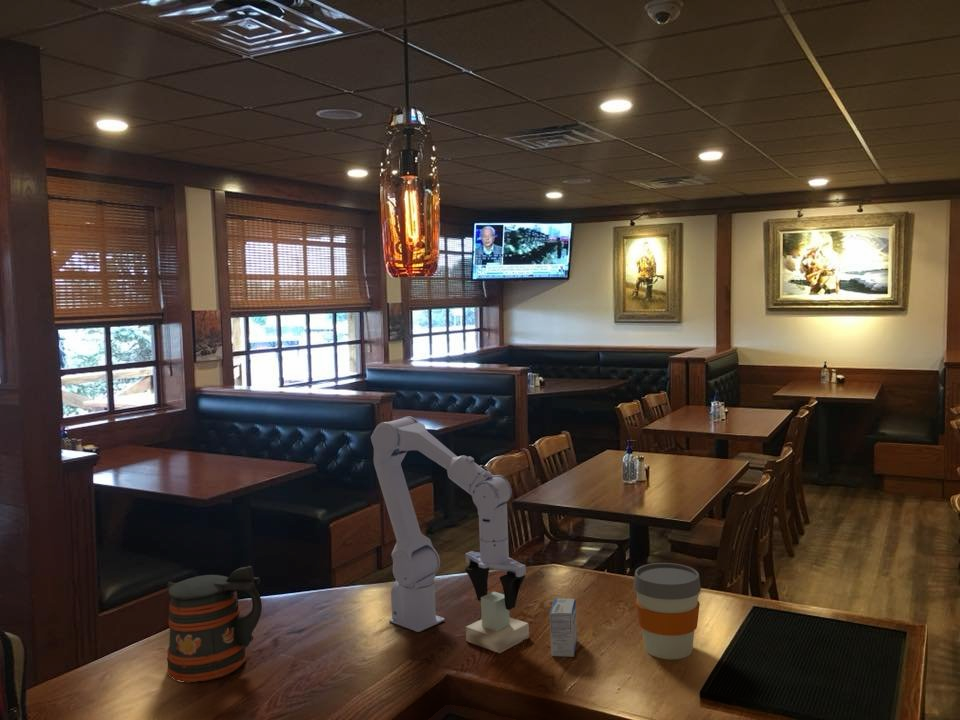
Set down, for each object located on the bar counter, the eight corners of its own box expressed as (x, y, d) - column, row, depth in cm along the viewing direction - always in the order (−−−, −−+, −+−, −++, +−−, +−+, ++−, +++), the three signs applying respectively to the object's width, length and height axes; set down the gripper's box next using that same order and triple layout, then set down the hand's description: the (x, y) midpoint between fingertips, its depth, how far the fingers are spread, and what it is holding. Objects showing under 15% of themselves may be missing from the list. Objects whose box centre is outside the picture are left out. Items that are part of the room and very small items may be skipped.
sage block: (481, 626, 160) (480, 597, 160) (495, 619, 163) (494, 591, 163) (496, 631, 158) (495, 602, 157) (509, 624, 161) (508, 595, 160)
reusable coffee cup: (706, 640, 157) (705, 566, 156) (695, 668, 145) (694, 588, 144) (643, 631, 162) (641, 559, 161) (628, 657, 151) (626, 580, 150)
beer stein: (279, 648, 161) (273, 552, 159) (254, 683, 146) (247, 577, 145) (187, 649, 162) (180, 553, 160) (153, 684, 147) (146, 579, 146)
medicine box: (574, 658, 152) (572, 613, 151) (550, 656, 152) (549, 612, 152) (577, 640, 159) (576, 598, 159) (555, 639, 160) (553, 597, 159)
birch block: (466, 641, 161) (465, 626, 161) (495, 626, 167) (495, 612, 167) (499, 653, 155) (499, 638, 154) (529, 637, 161) (528, 623, 161)
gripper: (454, 536, 161) (456, 601, 162) (508, 549, 152) (510, 618, 153) (477, 527, 167) (480, 591, 168) (531, 540, 157) (533, 607, 158)
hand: (496, 603), depth 160 cm, fingers open, 7 cm apart
